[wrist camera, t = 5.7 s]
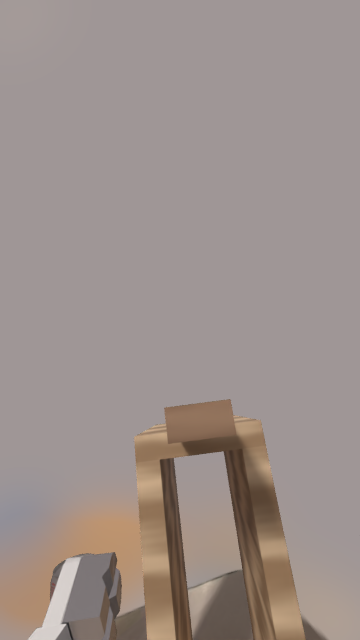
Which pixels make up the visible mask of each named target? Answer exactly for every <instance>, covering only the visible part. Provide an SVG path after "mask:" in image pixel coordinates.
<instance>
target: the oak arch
mask: <svg viewBox="0 0 360 640" xmlns="http://www.w3.org/2000/svg"><path fill="white" fill-rule="evenodd" d="M233 417H234V422H235V428H236V434H237V435H233V436H225V437H218V438H210V439H203V440H195V441H187V442H180V443H172V444H168V439H167V429H166V424H159V425H155V426H153V427H151V428H150V429H148V430H146V431H144V432H143V433H141V434H139V435H137V436H135V437H134V440H135V456H136V470H137V487H138V503H139V518H140V531H141V532H140V534H141V549H142V565H143V579H144V595H145V612H146V627H147V640H193V638H192V629H191V619H190V610H189V600H188V591H187V581H186V572H185V562H184V553H183V543H182V534H181V524H180V514H179V505H178V496H177V486H176V476H175V468H174V467H175V466H174V458H176V457H183V456H190V455H199V454H206V453H213V452H221V451H224V455H225V462H226V468H227V474H228V480H229V487H230V493H231V499H232V506H233V512H234V518H235V525H236V530H237V536H238V543H239V549H240V556H241V562H242V569H243V575H244V581H245V588H246V594H247V600H248V606H249V613H250V619H251V625H252V632H253V638H254V640H306V639H305V634H304V629H303V624H302V619H301V614H300V609H299V605H298V600H297V595H296V590H295V585H294V580H293V575H292V571H291V566H290V561H289V556H288V552H287V546H286V542H285V536H284V532H283V527H282V522H281V517H280V513H279V507H278V502H277V497H276V493H275V488H274V483H273V478H272V473H271V468H270V464H269V459H268V454H267V449H266V444H265V439H264V434H263V429H262V424H261V421H260V420H256V419H251V418H245V417H240V416H235V415H233Z"/></svg>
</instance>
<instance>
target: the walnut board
mask: <svg viewBox="0 0 360 640" xmlns="http://www.w3.org/2000/svg"><path fill="white" fill-rule="evenodd" d="M164 409H165V419H166V429H167V439H168V444H172V443H180V442H187V441H195V440H203V439H210V438H218V437H225V436H233V435H237V434H236V428H235V422H234V417H233V411H232V405H231V400H230V399H228V400H221V401H212V402H205V403H197V404H189V405H182V406H175V407H166V408H164Z"/></svg>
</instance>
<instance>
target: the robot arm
mask: <svg viewBox="0 0 360 640" xmlns="http://www.w3.org/2000/svg"><path fill="white" fill-rule="evenodd" d="M116 564H117V558H116V554H115V552H113V553H105V554H97V555H89V556H80V557H73V558H68V559H66V561H65V563H64V564H63V567H62V570H61V572H60V575H59V578H58V581H57V584H56V587H55V590H54V593H53V596H52V599H51V602H50V604H49V607H48V610H47V613H46V616H45V619H44V622H43V625H42V627H39V628H36V629H35V631H34V632H33V633H32V635H31V636H30V637H29V639H28V640H116V634H117V629H116V625H115V621H114V619H115V618H116V616H117V614H118V613H119V611H120V604H121V587H122V585H121V575H120V571H119V570H118V569H117V568H116Z"/></svg>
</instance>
